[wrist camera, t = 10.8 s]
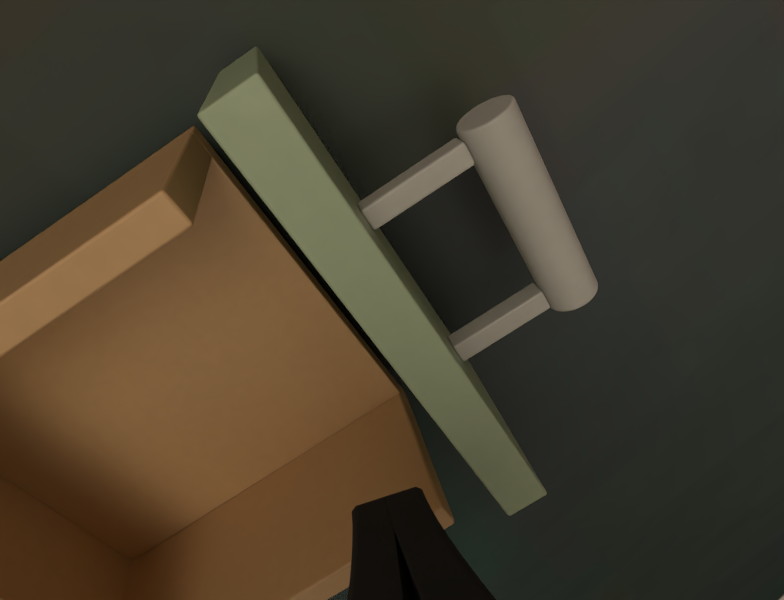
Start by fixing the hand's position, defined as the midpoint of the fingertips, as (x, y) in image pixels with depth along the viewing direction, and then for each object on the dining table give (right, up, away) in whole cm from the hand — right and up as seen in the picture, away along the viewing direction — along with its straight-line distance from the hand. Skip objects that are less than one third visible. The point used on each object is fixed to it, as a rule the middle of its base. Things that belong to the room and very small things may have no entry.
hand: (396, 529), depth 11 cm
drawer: (-5, +4, +6) cm, 9 cm away
